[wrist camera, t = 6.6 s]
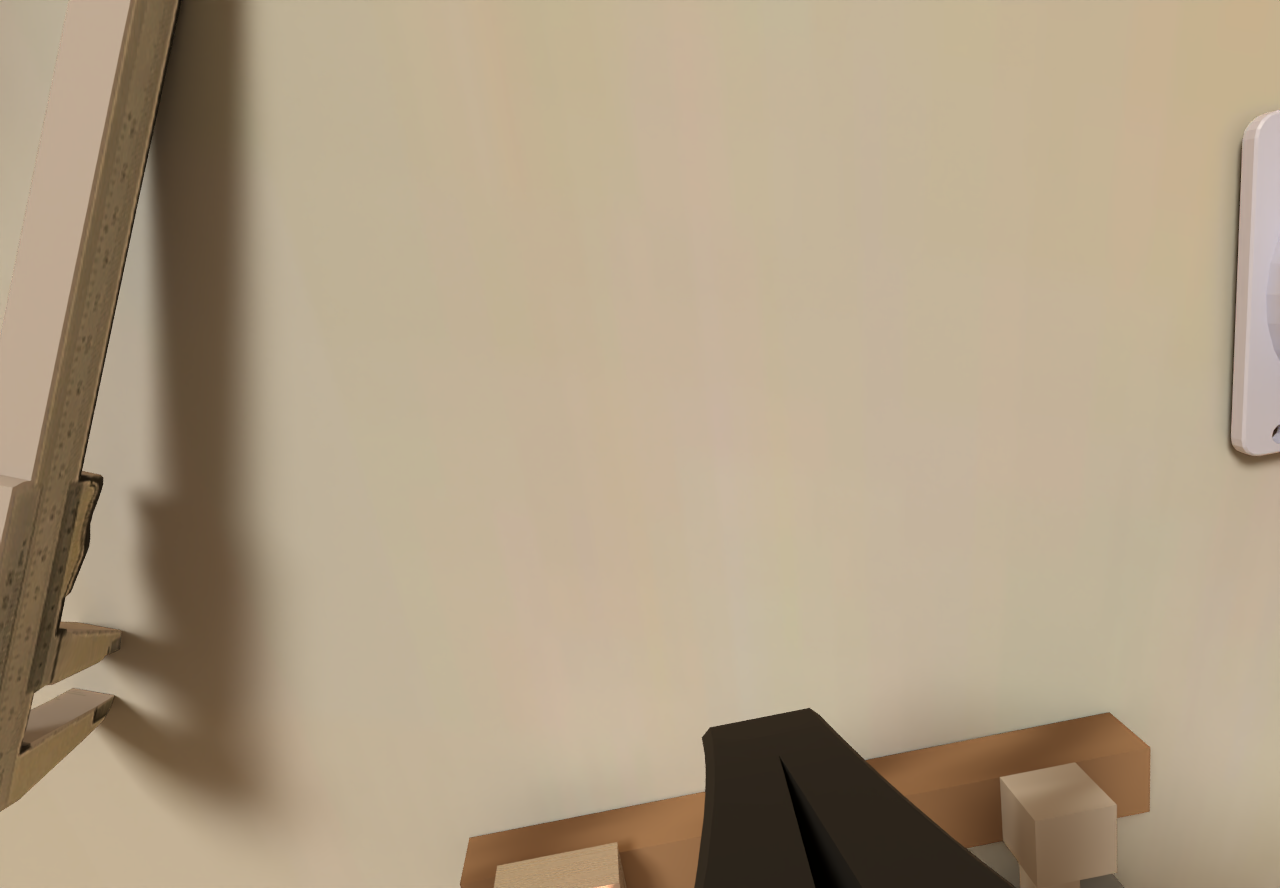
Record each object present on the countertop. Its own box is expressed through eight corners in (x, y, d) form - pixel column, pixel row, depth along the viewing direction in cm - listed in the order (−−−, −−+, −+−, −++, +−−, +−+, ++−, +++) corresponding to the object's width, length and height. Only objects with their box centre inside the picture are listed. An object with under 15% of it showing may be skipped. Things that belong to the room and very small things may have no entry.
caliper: (123, 706, 18) (-108, 926, 12) (76, 698, 18) (-181, 918, 12) (218, -212, 14) (-71, -587, 8) (158, -233, 14) (-185, -630, 8)
